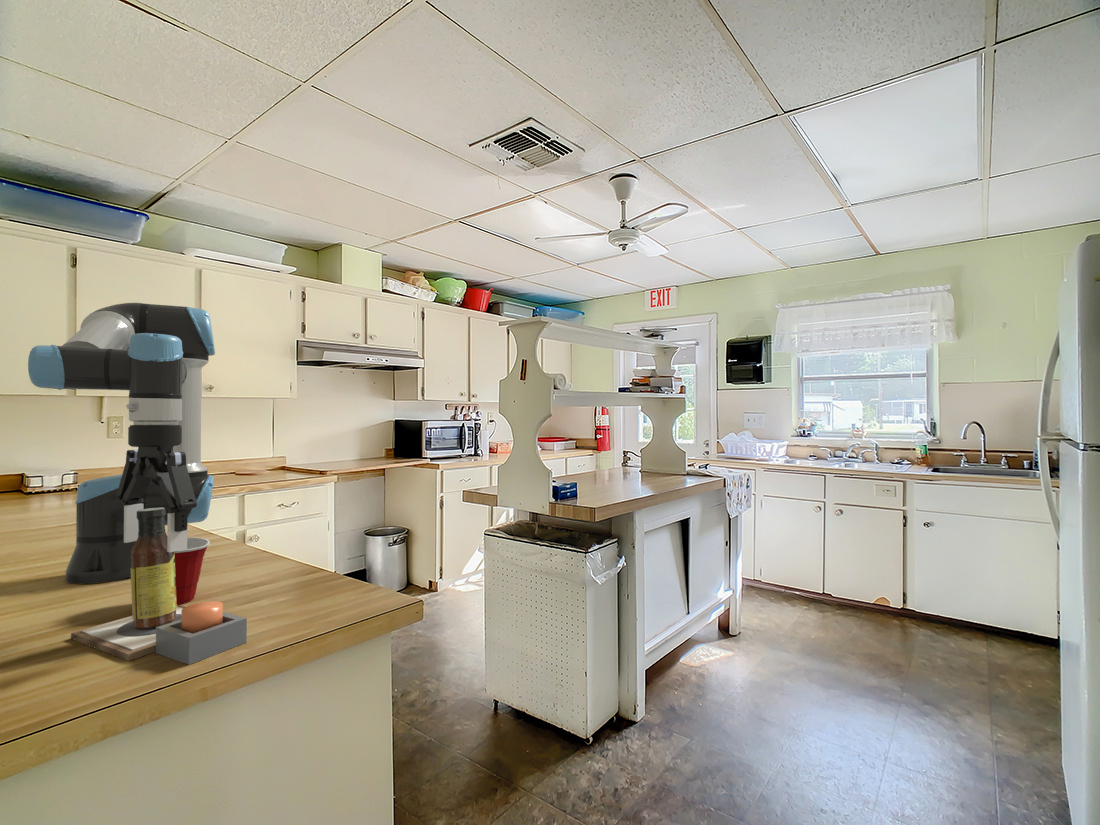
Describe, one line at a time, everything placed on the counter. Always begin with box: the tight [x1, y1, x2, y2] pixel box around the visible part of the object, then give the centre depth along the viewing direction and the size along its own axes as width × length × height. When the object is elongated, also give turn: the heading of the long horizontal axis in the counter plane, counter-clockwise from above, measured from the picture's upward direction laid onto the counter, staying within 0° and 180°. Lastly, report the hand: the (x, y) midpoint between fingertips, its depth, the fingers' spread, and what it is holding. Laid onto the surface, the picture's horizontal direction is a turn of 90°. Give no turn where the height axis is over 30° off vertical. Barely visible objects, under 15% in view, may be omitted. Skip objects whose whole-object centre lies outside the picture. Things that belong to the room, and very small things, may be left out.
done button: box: [181, 600, 224, 634], centre depth 87 cm, size 6×6×4 cm
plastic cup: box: [174, 536, 211, 605], centre depth 109 cm, size 11×11×12 cm
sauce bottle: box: [130, 507, 177, 629], centre depth 93 cm, size 6×6×20 cm
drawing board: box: [70, 604, 185, 662], centre depth 93 cm, size 18×16×1 cm
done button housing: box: [155, 611, 248, 665], centre depth 87 cm, size 9×9×4 cm
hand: (154, 545), depth 94 cm, fingers open, 13 cm apart
